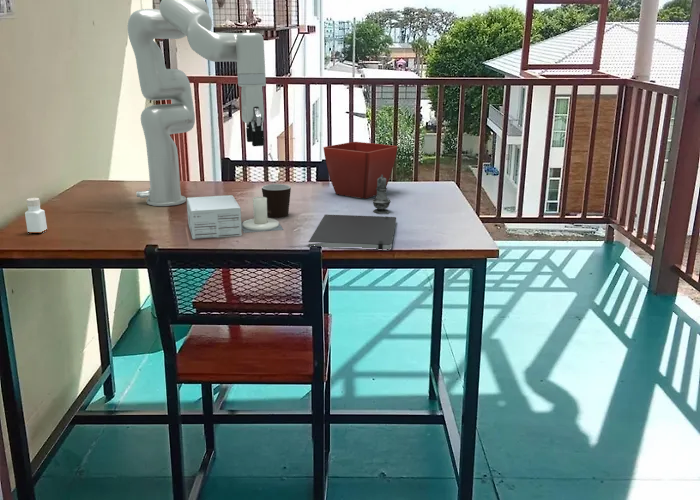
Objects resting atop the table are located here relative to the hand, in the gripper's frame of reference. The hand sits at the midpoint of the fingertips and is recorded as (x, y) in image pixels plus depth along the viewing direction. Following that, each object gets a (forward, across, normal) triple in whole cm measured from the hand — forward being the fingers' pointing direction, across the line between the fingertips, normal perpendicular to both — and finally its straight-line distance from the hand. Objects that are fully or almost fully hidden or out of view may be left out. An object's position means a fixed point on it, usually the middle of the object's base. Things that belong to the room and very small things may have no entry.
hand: (255, 143), depth 180 cm
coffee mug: (+24, -7, +7) cm, 26 cm away
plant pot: (+24, -32, +41) cm, 57 cm away
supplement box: (+24, +5, -14) cm, 28 cm away
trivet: (+24, +6, -1) cm, 24 cm away
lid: (+22, +6, -1) cm, 23 cm away
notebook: (+25, +16, +24) cm, 38 cm away
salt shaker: (+23, -10, -60) cm, 65 cm away
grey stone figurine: (+24, -6, +40) cm, 47 cm away
